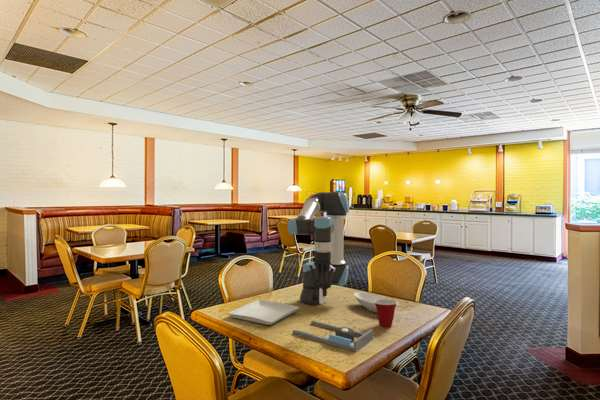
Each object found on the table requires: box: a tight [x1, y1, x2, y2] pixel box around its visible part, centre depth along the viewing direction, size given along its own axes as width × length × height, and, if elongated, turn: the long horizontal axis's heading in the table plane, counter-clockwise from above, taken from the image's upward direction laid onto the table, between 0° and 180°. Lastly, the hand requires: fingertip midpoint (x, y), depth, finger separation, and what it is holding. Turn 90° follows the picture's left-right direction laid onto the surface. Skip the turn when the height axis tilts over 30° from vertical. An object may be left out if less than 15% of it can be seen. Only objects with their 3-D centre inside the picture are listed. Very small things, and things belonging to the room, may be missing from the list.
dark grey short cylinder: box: [334, 326, 355, 343], centre depth 151 cm, size 8×8×4 cm
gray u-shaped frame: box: [292, 320, 374, 353], centre depth 155 cm, size 32×16×4 cm, turn 54°
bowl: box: [353, 291, 399, 314], centre depth 194 cm, size 30×15×6 cm, turn 33°
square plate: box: [227, 299, 300, 326], centre depth 182 cm, size 27×27×4 cm
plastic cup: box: [374, 298, 398, 329], centre depth 169 cm, size 11×11×12 cm
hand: (322, 302), depth 159 cm, fingers closed
